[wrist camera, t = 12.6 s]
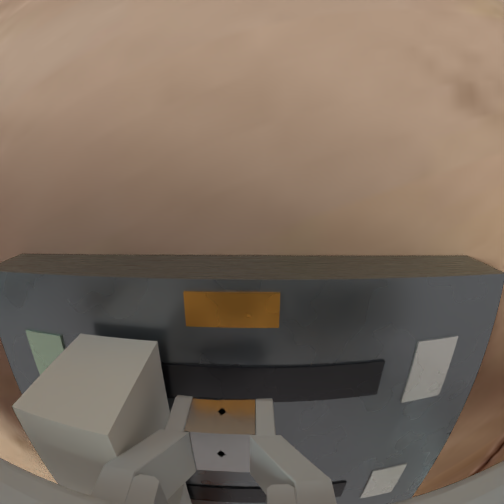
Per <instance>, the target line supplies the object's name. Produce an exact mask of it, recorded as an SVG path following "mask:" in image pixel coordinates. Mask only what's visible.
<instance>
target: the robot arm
mask: <svg viewBox="0 0 504 504" xmlns="http://www.w3.org/2000/svg"><path fill="white" fill-rule="evenodd" d="M196 470H210V471H230V472H250V474H251V476H252V477H253V478H254V480H255V481H256V482H257V484H258V485H259V486H260V488H261V489H262V490H263V491H264V493H265V494H266V504H337V503H336V498H335V494H334V489H333V485H332V481H331V479H330V478H329V477H328V476H326V475H325V474H324V473H323V472H322V471H321V470H319V469H318V468H317V467H316V466H315V465H314V464H312V463H311V462H310V461H309V460H308V459H307V458H306V457H304V456H303V455H302V454H301V453H300V452H299V451H298V450H297V449H295V448H294V447H293V446H292V445H291V444H290V443H289V442H288V441H287V440H286V439H285V438H283V437H282V436H281V435H276V431H275V419H274V407H273V400H272V398H264V399H256V400H255V399H224V398H209V397H197V396H194V397H193V396H183V395H177V396H176V397H175V400H174V403H173V406H172V409H171V412H170V415H169V418H168V421H167V424H166V428H165V430H163V429H160V430H158V431H157V432H155V433H154V434H152V435H151V436H149V437H148V438H146V439H145V440H143V441H142V442H140V443H138V444H137V445H135V446H134V447H132V448H131V449H129V450H127V451H126V452H124V453H123V454H121V455H119V456H118V457H116V458H115V459H113V460H111V461H110V462H108V463H106V464H105V465H104V466H103V468H102V470H101V473H100V475H99V477H98V479H97V481H96V484H95V486H94V488H93V490H92V493H91V495H87V494H84V493H81V492H78V491H75V490H72V489H70V488H67V487H64V486H61V485H59V484H56V483H54V482H51V481H49V480H46V479H44V478H41V477H39V476H37V475H35V474H32V473H30V472H28V471H26V470H24V469H22V468H19V467H17V466H15V465H13V464H11V463H9V462H8V461H6V460H4V459H2V458H0V504H168V502H167V500H168V499H169V498H170V497H171V496H172V495H173V494H174V493H175V492H176V491H177V490H178V489H179V488H180V487H181V486H182V485H183V484H184V483H185V482H186V481H187V480H188V479H189V478H190V477H191V476H192V475H193V474H194V473H195V472H196ZM391 504H504V461H502V462H500V463H498V464H496V465H494V466H492V467H490V468H488V469H486V470H483V471H481V472H479V473H477V474H475V475H472V476H470V477H468V478H465V479H463V480H461V481H458V482H456V483H453V484H451V485H448V486H445V487H443V488H440V489H437V490H434V491H431V492H428V493H425V494H422V495H419V496H416V497H413V498H409V499H406V500H402V501H399V502H395V503H391Z"/></svg>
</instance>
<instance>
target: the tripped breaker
mask: <svg viewBox="0 0 504 504" xmlns="http://www.w3.org/2000/svg"><path fill="white" fill-rule="evenodd" d="M12 408H13V410H14V412H15V414H16V416H17V418H18V419H19V421H20V423H21V425H22V427H23V429H24V431H25V432H26V434H27V436H28V438H29V440H30V441H31V443H32V445H33V446H34V448H35V450H36V451H37V453H38V455H39V456H40V458H41V459H42V461H43V462H44V464H45V465H46V467H47V468H48V470H49V471H50V473H51V474H52V476H53V477H54V479H55V480H56V482H57V483H58V484H59V485H61V486H64V487H67V488H70V489H72V490H75V491H78V492H81V493H84V494H87V495H91V493H92V490H93V488H94V486H95V484H96V481H97V479H98V477H99V475H100V473H101V470H102V468H103V466H104V465H105V464H106V463H108V462H110V461H111V460H113V459H115V458H116V457H118V456H119V455H121V454H123V453H124V452H126V451H127V450H129V449H131V448H132V447H134V446H135V445H137V444H138V443H140V442H142V441H143V440H145V439H146V438H148V437H149V436H151V435H152V434H154V433H155V432H157V431H158V430H160V429H163V430H165V428H166V424H167V421H168V418H169V415H170V410H169V405H168V400H167V395H166V390H165V384H164V379H163V373H162V367H161V361H160V355H159V348H158V341H147V340H135V339H125V338H115V337H105V336H97V335H88V334H80V335H79V336H78V337H77V338H76V339H75V340H74V341H73V342H72V343H71V344H70V345H69V346H68V347H67V348H66V349H65V350H64V351H63V352H62V353H61V354H60V355H59V356H58V357H57V358H56V359H55V360H54V361H53V362H52V363H51V364H50V365H49V366H48V367H47V368H46V370H45V371H44V372H43V373H42V374H41V375H40V376H39V377H38V378H37V379H36V380H35V381H34V382H33V383H32V385H31V386H30V387H29V388H28V389H27V390H26V391H25V392H24V393H23V394H22V395H21V397H20V398H19V399H18V400H17V401H16V402H15V403H14V404H13V406H12Z"/></svg>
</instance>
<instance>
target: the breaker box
mask: <svg viewBox="0 0 504 504" xmlns="http://www.w3.org/2000/svg"><path fill="white" fill-rule="evenodd" d="M503 284H504V272H502V271H499V270H497V269H495V268H493V267H491V266H489V265H487V264H485V263H482V262H480V261H478V260H476V259H474V258H471V257H469V256H260V255H86V254H20V255H18V256H16V257H13V258H11V259H9V260H6V261H4V262H2V263H0V337H1V340H2V344H3V347H4V349H5V352H6V355H7V358H8V361H9V364H10V366H11V369H12V371H13V374H14V377H15V379H16V381H17V384H18V386H19V389H20V391H21V393H22V394H23V393H24V392H25V391H26V390H27V389H28V388H29V387H30V386H31V385H32V383H33V382H34V381H35V380H36V379H37V378H38V377H39V376H40V375H41V374H42V373H43V372H44V371H45V370H46V368H47V367H48V366H49V365H50V364H51V363H52V362H53V361H54V360H55V359H56V358H57V357H58V356H59V355H60V354H61V353H62V352H63V351H64V350H65V349H66V348H67V347H68V346H69V345H70V344H71V343H72V342H73V341H74V340H75V339H76V338H77V337H78V336H79V335H80V334H88V335H97V336H105V337H115V338H125V339H135V340H147V341H158V348H159V355H160V361H161V367H162V373H163V379H164V384H165V390H166V395H167V400H168V405H169V410H170V412H171V409H172V406H173V403H174V400H175V397H176V396H177V395H183V396H193V397H194V396H197V397H209V398H224V399H255V400H256V399H264V398H272V400H273V407H274V419H275V431H276V435H281V436H282V437H283V438H285V439H286V440H287V441H288V442H289V443H290V444H291V445H292V446H293V447H294V448H295V449H297V450H298V451H299V452H300V453H301V454H302V455H303V456H304V457H306V458H307V459H308V460H309V461H310V462H311V463H312V464H314V465H315V466H316V467H317V468H318V469H319V470H321V471H322V472H323V473H324V474H325V475H326V476H328V477H329V478H330V479H331V481H332V485H333V489H334V494H335V498H336V503H337V504H391V503H395V502H399V501H402V500H406V499H409V498H411V497H412V496H413V495H414V493H415V492H416V490H417V489H418V487H419V486H420V484H421V483H422V481H423V480H424V478H425V477H426V475H427V473H428V472H429V470H430V469H431V467H432V465H433V464H434V462H435V460H436V459H437V457H438V455H439V453H440V452H441V450H442V448H443V446H444V445H445V443H446V441H447V439H448V437H449V435H450V433H451V431H452V429H453V427H454V425H455V423H456V421H457V419H458V417H459V415H460V413H461V411H462V409H463V407H464V404H465V402H466V400H467V398H468V395H469V393H470V390H471V388H472V386H473V383H474V381H475V378H476V376H477V373H478V370H479V368H480V365H481V362H482V359H483V356H484V354H485V351H486V348H487V345H488V341H489V338H490V335H491V332H492V328H493V325H494V321H495V318H496V314H497V310H498V306H499V302H500V298H501V293H502V289H503ZM185 483H186V486H187V490H188V493H189V496H190V499H191V503H192V504H266V494H265V493H264V491H263V490H262V489H261V488H260V486H259V485H258V484H257V482H256V481H255V480H254V478H253V477H252V476H251V474H250V472H230V471H210V470H196V472H195V473H194V474H193V475H192V476H191V477H190V478H189V479H188V480H187V481H186V482H185Z"/></svg>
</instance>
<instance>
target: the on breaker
mask: <svg viewBox="0 0 504 504" xmlns="http://www.w3.org/2000/svg"><path fill="white" fill-rule="evenodd" d="M167 502H168V504H192V503H191V499H190V496H189V493H188V490H187V486H186V483H184V484H183V485H182V486H181V487H180V488H179V489H178V490H177V491H176V492H175V493H174V494H173V495H172V496H171V497H170V498H169V499H168V500H167Z"/></svg>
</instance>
